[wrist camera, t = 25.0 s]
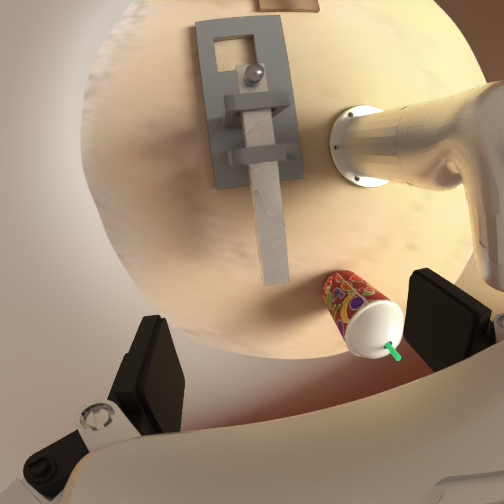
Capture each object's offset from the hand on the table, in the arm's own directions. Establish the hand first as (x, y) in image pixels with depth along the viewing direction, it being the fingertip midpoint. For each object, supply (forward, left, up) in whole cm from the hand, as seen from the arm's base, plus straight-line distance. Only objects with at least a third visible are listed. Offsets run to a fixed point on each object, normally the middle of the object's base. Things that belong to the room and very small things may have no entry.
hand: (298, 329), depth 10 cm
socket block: (-3, -15, -33) cm, 36 cm away
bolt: (-2, -4, -22) cm, 22 cm away
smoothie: (-14, +16, -34) cm, 40 cm away
